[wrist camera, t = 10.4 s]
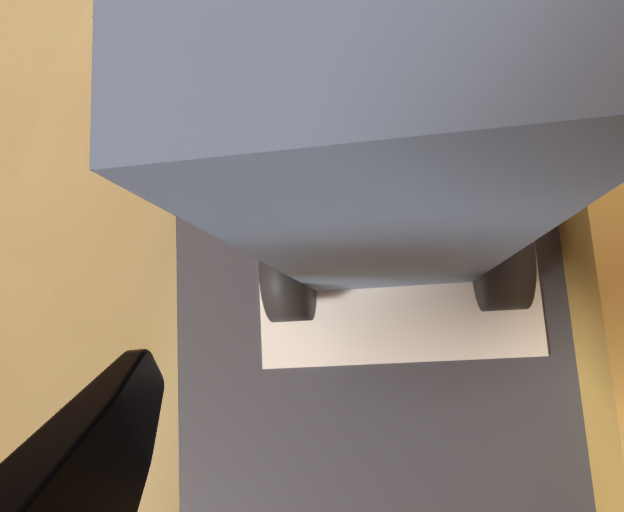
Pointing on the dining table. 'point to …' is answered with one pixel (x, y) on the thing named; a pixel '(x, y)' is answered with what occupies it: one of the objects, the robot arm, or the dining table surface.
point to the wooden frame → (406, 387)
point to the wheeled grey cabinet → (364, 133)
